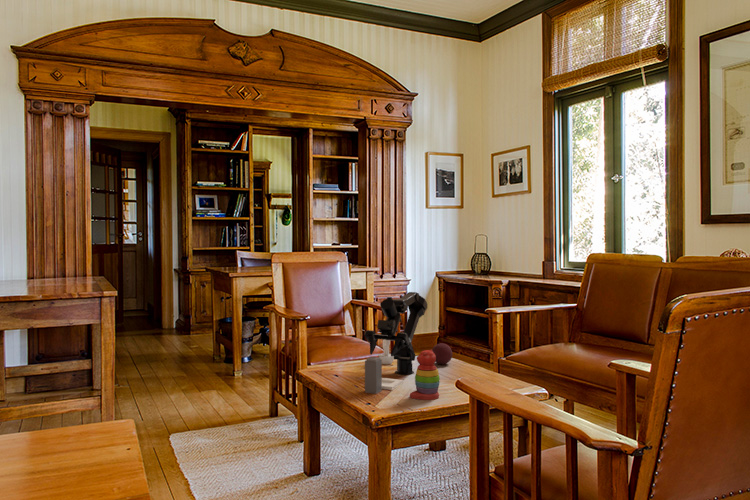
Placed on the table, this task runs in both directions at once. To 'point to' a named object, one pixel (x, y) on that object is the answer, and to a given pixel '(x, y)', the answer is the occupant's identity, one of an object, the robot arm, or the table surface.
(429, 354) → the stacking bear
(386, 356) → the figurine
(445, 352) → the decorative ball
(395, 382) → the socket
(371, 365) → the plug
